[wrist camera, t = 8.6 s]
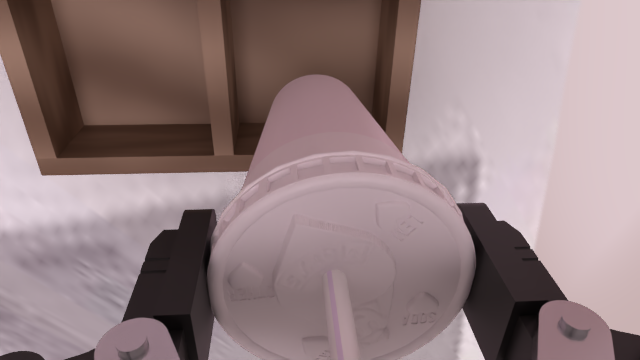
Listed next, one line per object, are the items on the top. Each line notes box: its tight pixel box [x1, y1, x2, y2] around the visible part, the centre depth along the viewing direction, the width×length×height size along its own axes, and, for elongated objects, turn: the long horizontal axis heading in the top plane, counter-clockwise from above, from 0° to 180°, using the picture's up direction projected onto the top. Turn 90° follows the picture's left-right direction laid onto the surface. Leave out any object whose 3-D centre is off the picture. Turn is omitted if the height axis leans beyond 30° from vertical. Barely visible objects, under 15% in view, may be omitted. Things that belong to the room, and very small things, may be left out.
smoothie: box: [207, 74, 476, 360], centre depth 13 cm, size 6×6×14 cm
